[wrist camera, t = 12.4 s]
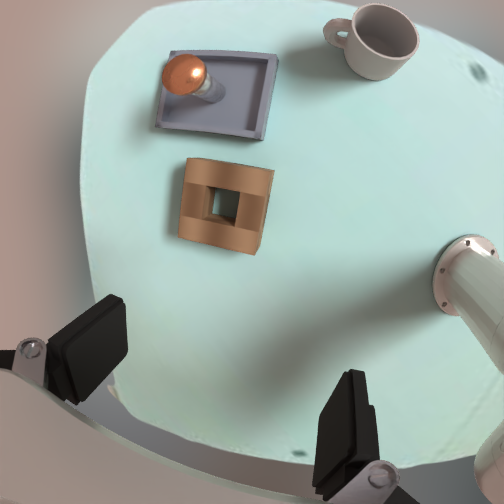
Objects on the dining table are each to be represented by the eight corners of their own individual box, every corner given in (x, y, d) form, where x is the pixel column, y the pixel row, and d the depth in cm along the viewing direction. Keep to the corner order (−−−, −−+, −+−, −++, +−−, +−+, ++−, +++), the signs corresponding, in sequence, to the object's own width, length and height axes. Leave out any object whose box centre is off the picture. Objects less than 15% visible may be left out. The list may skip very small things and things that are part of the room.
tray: (278, 60, 30) (276, 54, 27) (263, 140, 33) (260, 139, 31) (178, 55, 31) (170, 50, 29) (163, 128, 35) (155, 127, 33)
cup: (394, 89, 28) (417, 70, 20) (317, 67, 29) (319, 40, 21) (399, 44, 25) (420, 17, 17) (325, 23, 27) (328, -11, 18)
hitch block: (274, 170, 34) (270, 171, 31) (260, 245, 38) (254, 255, 34) (199, 157, 36) (187, 157, 32) (189, 229, 39) (177, 237, 35)
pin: (234, 78, 31) (207, 53, 22) (227, 109, 32) (198, 95, 23) (201, 76, 31) (166, 54, 22) (195, 106, 33) (158, 93, 24)
